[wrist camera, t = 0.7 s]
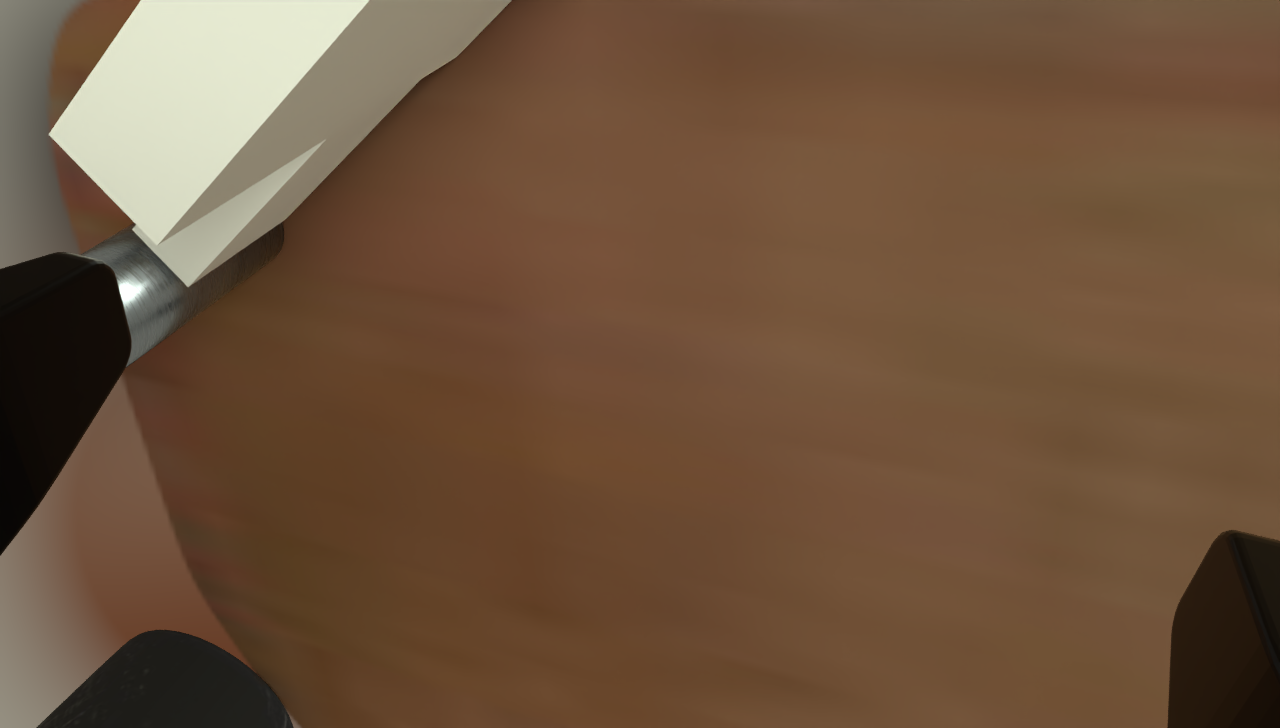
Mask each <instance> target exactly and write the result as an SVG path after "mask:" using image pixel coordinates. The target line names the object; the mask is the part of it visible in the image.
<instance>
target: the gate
mask: <svg viewBox="0 0 1280 728" xmlns="http://www.w3.org/2000/svg"><path fill="white" fill-rule="evenodd" d="M511 1H512V0H141V1H140V3H139V4H138V6H137V7H136V8H135V10H134V11H133V13H132V14H131V16H130V17H129V19H128V20H127V21H126V23H125V24H124V26H123V27H122V29H121V30H120V32H119V33H118V35H117V36H116V37H115V39H114V40H113V42H112V43H111V45H110V46H109V48H108V49H107V51H106V52H105V53H104V55H103V56H102V58H101V59H100V61H99V62H98V64H97V65H96V66H95V68H94V69H93V71H92V72H91V74H90V75H89V77H88V78H87V80H86V81H85V82H84V84H83V85H82V87H81V88H80V90H79V91H78V93H77V94H76V95H75V97H74V98H73V100H72V101H71V103H70V104H69V106H68V107H67V109H66V110H65V111H64V113H63V114H62V116H61V117H60V119H59V120H58V122H57V123H56V124H55V126H54V127H53V129H52V130H51V132H50V133H49V135H50V136H51V137H52V138H53V139H54V140H55V142H56V143H57V144H58V145H59V146H60V147H61V148H62V149H63V150H64V151H65V152H66V153H67V154H68V155H69V156H70V157H71V158H72V159H73V160H74V161H75V162H76V163H77V164H78V165H79V166H80V167H81V168H82V169H83V170H84V171H85V172H86V173H87V174H88V175H89V176H90V177H91V178H92V180H93V181H94V182H95V183H96V184H97V185H98V186H99V187H100V188H101V189H102V190H103V191H104V192H105V193H106V194H107V195H108V196H109V197H110V198H111V199H112V200H113V201H114V202H115V203H116V204H117V205H118V206H119V207H120V208H121V209H122V210H123V211H124V212H125V213H126V214H127V215H128V217H129V218H130V219H131V220H132V221H133V222H134V223H135V224H136V225H135V227H134V228H133V229H132V230H133V231H134V232H135V233H136V234H137V235H138V236H139V237H140V238H141V239H142V240H143V241H144V243H145V244H146V245H147V246H148V247H149V248H150V249H151V250H152V251H153V252H154V253H155V254H156V255H157V256H158V257H159V258H160V259H161V260H162V261H163V262H164V263H165V264H166V265H167V266H168V267H169V268H170V269H171V270H172V271H173V272H174V273H175V274H176V275H177V276H178V277H179V278H180V279H181V280H182V281H183V282H184V284H185V285H186V286H187V287H189V286H191V285H192V284H194V283H195V282H196V281H198V280H199V279H201V278H202V277H204V276H205V275H207V274H208V273H209V272H211V271H212V270H214V269H215V268H217V267H218V266H219V265H221V264H222V263H224V262H225V261H227V260H228V259H229V258H231V257H232V256H234V255H235V254H237V253H238V252H239V251H241V250H242V249H244V248H245V247H247V246H248V245H250V244H251V243H252V242H254V241H255V240H257V239H258V238H260V237H261V236H262V235H264V234H265V233H267V232H268V231H270V230H271V229H272V228H274V227H275V226H277V225H278V224H280V223H281V222H283V221H284V220H285V219H287V218H288V217H289V216H290V215H291V213H292V212H293V211H294V210H295V209H296V208H297V207H298V206H299V205H300V204H301V203H302V202H303V201H304V200H305V199H306V198H307V197H308V196H309V195H310V194H311V193H312V192H313V191H314V190H315V189H316V188H317V187H318V185H319V184H320V183H321V182H322V181H323V180H324V179H325V178H326V177H327V176H328V175H329V174H330V173H331V172H332V171H333V170H334V169H335V168H336V167H337V166H338V165H339V164H340V163H341V162H342V161H343V160H344V159H345V158H346V156H347V155H348V154H349V153H350V152H351V151H352V150H353V149H354V148H355V147H356V146H357V145H358V144H359V143H360V142H361V141H362V140H363V139H364V138H365V137H366V136H367V135H368V134H369V133H370V132H371V131H372V130H373V128H374V127H375V126H376V125H377V124H378V123H379V122H380V121H381V120H382V119H383V118H384V117H385V116H386V115H387V114H388V113H389V112H390V111H391V110H392V109H393V108H394V107H395V106H396V105H397V104H398V103H399V102H400V100H401V99H402V98H403V97H404V96H405V95H406V94H407V93H408V92H409V91H410V90H411V89H412V88H413V87H414V86H415V85H416V84H417V83H418V82H419V81H420V80H421V79H422V78H424V77H426V76H427V75H429V74H430V73H432V72H434V71H435V70H437V69H438V68H440V67H442V66H443V65H445V64H446V63H448V62H449V61H451V60H453V59H454V58H456V57H457V56H458V55H459V54H460V53H461V52H462V51H463V50H464V49H465V48H466V47H467V46H468V45H469V44H470V43H471V42H472V41H473V40H474V39H475V38H476V37H477V36H478V35H479V34H480V33H481V32H482V31H483V29H484V28H485V27H486V26H487V25H488V24H489V23H490V22H491V21H492V20H493V19H494V18H495V17H496V16H497V15H498V14H499V13H500V12H501V11H502V10H503V9H504V8H505V7H506V6H507V5H508V4H509V3H510V2H511Z"/></svg>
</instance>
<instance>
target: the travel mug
mask: <svg viewBox="0 0 1280 728" xmlns="http://www.w3.org/2000/svg"><path fill="white" fill-rule="evenodd" d="M37 728H293V724H292V722H291V720H290V717H289V715H288V713H287V711H286V710H285V708H284V706H283V705H282V703H281V702H280V700H279V699H278V697H277V696H276V695H275V693H274V692H273V691H272V690H271V689H270V688H269V686H268V685H267V684H266V683H265V682H264V681H263V680H262V679H261V678H260V677H259V676H258V675H257V674H256V673H255V672H254V671H252V670H251V669H250V668H249V667H248V666H247V665H245V664H244V663H243V662H241V661H240V660H239V659H237V658H236V657H234V656H233V655H231V654H230V653H228V652H226V651H225V650H223V649H221V648H219V647H218V646H216V645H214V644H212V643H210V642H208V641H205V640H203V639H201V638H198V637H195V636H192V635H189V634H186V633H181V632H177V631H170V630H154V631H148V632H145V633H142V634H139V635H137V636H136V637H134V638H132V639H131V640H129V641H128V642H127V643H126V644H125V645H123V646H122V647H121V648H120V649H119V650H118V651H117V652H116V653H115V654H114V655H113V656H112V657H110V658H109V659H108V660H107V661H106V662H105V663H104V664H103V665H102V666H101V667H100V668H98V669H97V670H96V671H95V672H94V673H93V674H92V675H91V676H90V677H89V678H88V679H87V680H86V681H85V682H84V683H83V684H82V685H81V686H80V687H78V688H77V689H76V690H75V692H73V693H72V694H71V695H70V696H69V697H68V698H67V699H66V700H65V701H64V702H63V703H62V704H61V705H60V706H59V707H58V708H56V709H55V710H54V711H53V712H52V713H51V714H50V715H49V716H48V717H47V718H46V719H45V720H44V721H43V722H42V723H41V724H40V725H39V726H38V727H37Z"/></svg>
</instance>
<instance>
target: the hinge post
mask: <svg viewBox="0 0 1280 728" xmlns="http://www.w3.org/2000/svg"><path fill="white" fill-rule="evenodd" d="M135 225H136V224H135V223H134V224H132V225H130V226H129V227H127V228H125V229H123V230H122V231H120V232H118V233H117V234H115V235H113V236H112V237H110V238H108V239H107V240H105V241H103V242H101V243H100V244H98V245H96V246H95V247H93V248H91V249H90V250H88V251H86V252H85V253H83V254H81V256H86V257H90V258H94V259H98V260H101V261H103V262H105V263H107V264H108V265H109V266H110V267H111V269H112V270H113V271H114V273H115V275H116V278H117V281H118V285H119V289H120V293H121V297H122V301H123V305H124V309H125V313H126V317H127V321H128V326H129V330H130V334H131V339H132V348H131V354H130V358H129V361H128V363H127V366H126V367H128V366H129V365H130V364H132V363H133V362H134V361H136V360H137V359H138V358H140V357H141V356H142V355H144V354H145V353H147V352H148V351H149V350H151V349H152V348H153V347H155V346H156V345H157V344H159V343H160V342H162V341H163V340H164V339H166V338H167V337H168V336H170V335H171V334H172V333H174V332H175V331H177V330H178V329H179V328H181V327H182V326H183V325H185V324H186V323H187V322H189V321H190V320H191V319H193V318H194V317H196V316H197V315H198V314H200V313H201V312H202V311H204V310H205V309H206V308H208V307H209V306H211V305H212V304H213V303H215V302H216V301H217V300H219V299H220V298H221V297H223V296H224V295H225V294H227V293H228V292H230V291H231V290H232V289H234V288H235V287H236V286H238V285H239V284H240V283H242V282H243V281H245V280H246V279H247V278H249V277H250V276H251V275H253V274H254V273H255V272H257V271H258V270H259V269H261V268H262V267H264V266H265V265H266V264H268V263H269V262H270V261H272V260H273V259H274V258H275V257H276V256H277V255H278V254H279V252H280V251H281V248H282V245H283V241H284V229H283V224H282V222H281V223H280V224H278V225H277V226H275V227H274V228H272V229H271V230H270V231H268V232H267V233H265V234H264V235H262V236H261V237H260V238H258V239H257V240H255V241H254V242H252V243H251V244H250V245H248V246H247V247H245V248H244V249H242V250H241V251H239V252H238V253H237V254H235V255H234V256H232V257H231V258H229V259H228V260H227V261H225V262H224V263H222V264H221V265H219V266H218V267H217V268H215V269H214V270H212V271H211V272H209V273H208V274H207V275H205V276H204V277H202V278H201V279H199V280H198V281H196V282H195V283H194V284H192V285H191V286H189V287H187V286H186V285H185V284H184V282H183V281H182V280H181V279H180V278H179V277H178V276H177V275H176V274H175V273H174V272H173V271H172V270H171V269H170V268H169V267H168V266H167V265H166V264H165V263H164V262H163V261H162V260H161V259H160V258H159V257H158V256H157V255H156V254H155V253H154V252H153V251H152V250H151V249H150V248H149V247H148V246H147V245H146V244H145V243H144V241H143V240H142V239H141V238H140V237H139V236H138V235H137V234H136V233H135V232H134V231H133V230H132V229H133V228H134V227H135Z"/></svg>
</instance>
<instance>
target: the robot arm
mask: <svg viewBox="0 0 1280 728" xmlns="http://www.w3.org/2000/svg"><path fill="white" fill-rule="evenodd" d="M131 348H132V339H131V334H130V330H129V326H128V321H127V317H126V313H125V309H124V305H123V301H122V297H121V293H120V289H119V285H118V281H117V278H116V275H115V273H114V271H113V270H112V269H111V267H110V266H109V265H108V264H107V263H105V262H103V261H101V260H98V259H94V258H90V257H86V256H81V255H77V254H73V253H66V252H57V253H53V254H49V255H46V256H42V257H39V258H36V259H32V260H29V261H26V262H22V263H19V264H16V265H13V266H9V267H5V268H2V269H0V555H1V554H2V553H3V552H4V550H5V549H6V547H7V546H8V545H9V544H10V543H11V541H12V540H13V539H14V537H15V536H16V535H17V534H18V532H19V531H20V530H21V528H22V527H23V526H24V524H25V523H26V522H27V520H28V519H29V518H30V516H31V515H32V514H33V512H34V511H35V510H36V508H37V507H38V505H39V504H40V502H41V501H42V500H43V498H44V497H45V495H46V493H47V492H48V490H49V489H50V487H51V486H52V484H53V483H54V481H55V480H56V478H57V477H58V475H59V473H60V472H61V470H62V469H63V467H64V465H65V464H66V462H67V461H68V459H69V457H70V456H71V454H72V453H73V451H74V449H75V448H76V446H77V445H78V443H79V441H80V440H81V438H82V437H83V435H84V434H85V432H86V430H87V429H88V427H89V426H90V424H91V422H92V421H93V419H94V417H95V416H96V414H97V413H98V411H99V410H100V408H101V406H102V405H103V403H104V402H105V400H106V398H107V396H108V395H109V394H110V392H111V390H112V388H113V387H114V385H115V384H116V382H117V380H118V379H119V378H120V376H121V374H122V373H123V371H124V370H125V368H126V366H127V363H128V361H129V358H130V354H131ZM1168 728H1280V541H1278V540H1274V539H1270V538H1266V537H1262V536H1257V535H1253V534H1249V533H1245V532H1241V531H1236V530H1229V531H1226V532H1222V533H1221V534H1220V535H1219V536H1218V537H1217V538H1216V539H1215V540H1214V542H1213V543H1212V545H1211V547H1210V548H1209V550H1208V552H1207V554H1206V555H1205V557H1204V559H1203V561H1202V563H1201V564H1200V566H1199V568H1198V570H1197V571H1196V573H1195V575H1194V577H1193V578H1192V580H1191V582H1190V584H1189V586H1188V587H1187V589H1186V591H1185V593H1184V594H1183V596H1182V598H1181V600H1180V602H1179V604H1178V607H1177V609H1176V612H1175V616H1174V620H1173V626H1172V634H1171V657H1170V681H1169V706H1168Z"/></svg>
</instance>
